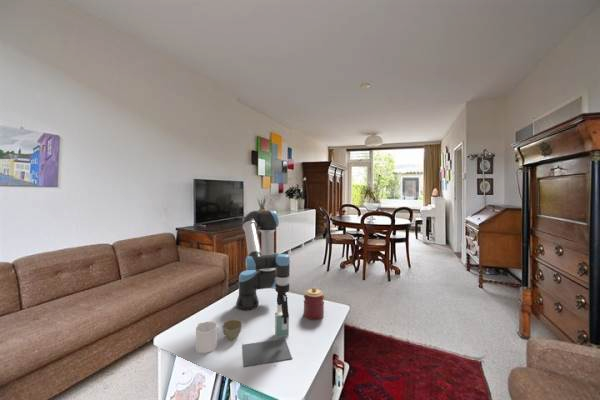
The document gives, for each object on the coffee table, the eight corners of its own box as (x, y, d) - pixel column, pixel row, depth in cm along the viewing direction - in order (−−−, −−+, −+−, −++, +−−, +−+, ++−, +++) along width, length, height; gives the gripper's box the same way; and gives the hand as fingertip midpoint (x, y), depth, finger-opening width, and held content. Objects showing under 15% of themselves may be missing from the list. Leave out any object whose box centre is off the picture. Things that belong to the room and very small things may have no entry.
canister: (301, 318, 150) (302, 290, 150) (305, 309, 163) (305, 283, 162) (322, 321, 148) (323, 292, 147) (324, 311, 161) (325, 284, 160)
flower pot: (219, 336, 130) (219, 323, 130) (236, 330, 137) (236, 317, 136) (227, 346, 123) (227, 332, 122) (245, 338, 129) (245, 325, 129)
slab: (274, 334, 133) (275, 312, 133) (287, 332, 135) (287, 311, 135) (275, 337, 130) (276, 315, 130) (288, 335, 132) (288, 314, 132)
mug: (221, 346, 122) (221, 326, 122) (202, 356, 114) (202, 335, 114) (207, 336, 130) (207, 317, 130) (189, 345, 122) (189, 325, 122)
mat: (242, 345, 123) (242, 344, 123) (285, 339, 129) (285, 338, 129) (243, 367, 108) (243, 366, 108) (292, 359, 114) (292, 358, 114)
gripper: (272, 276, 143) (271, 312, 143) (279, 292, 119) (279, 336, 119) (284, 275, 145) (284, 311, 145) (294, 291, 121) (294, 334, 121)
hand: (282, 322), depth 132 cm, fingers open, 13 cm apart
